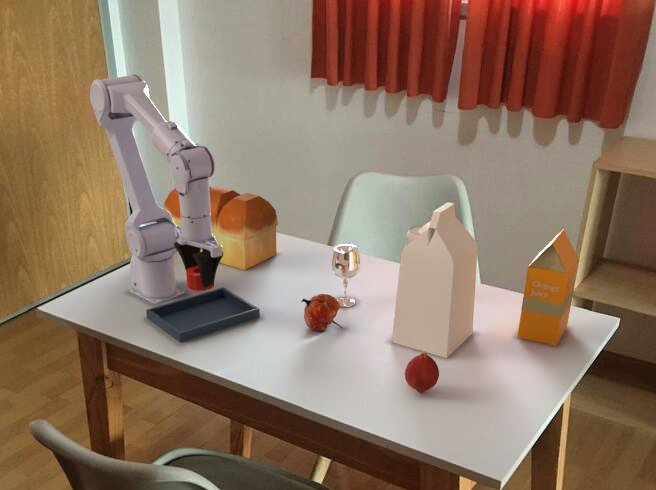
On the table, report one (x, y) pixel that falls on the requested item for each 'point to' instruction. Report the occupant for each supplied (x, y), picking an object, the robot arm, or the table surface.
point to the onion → (422, 373)
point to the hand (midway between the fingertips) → (200, 280)
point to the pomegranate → (320, 311)
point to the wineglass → (345, 268)
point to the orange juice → (549, 292)
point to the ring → (195, 279)
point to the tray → (202, 314)
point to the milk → (436, 286)
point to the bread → (237, 225)
